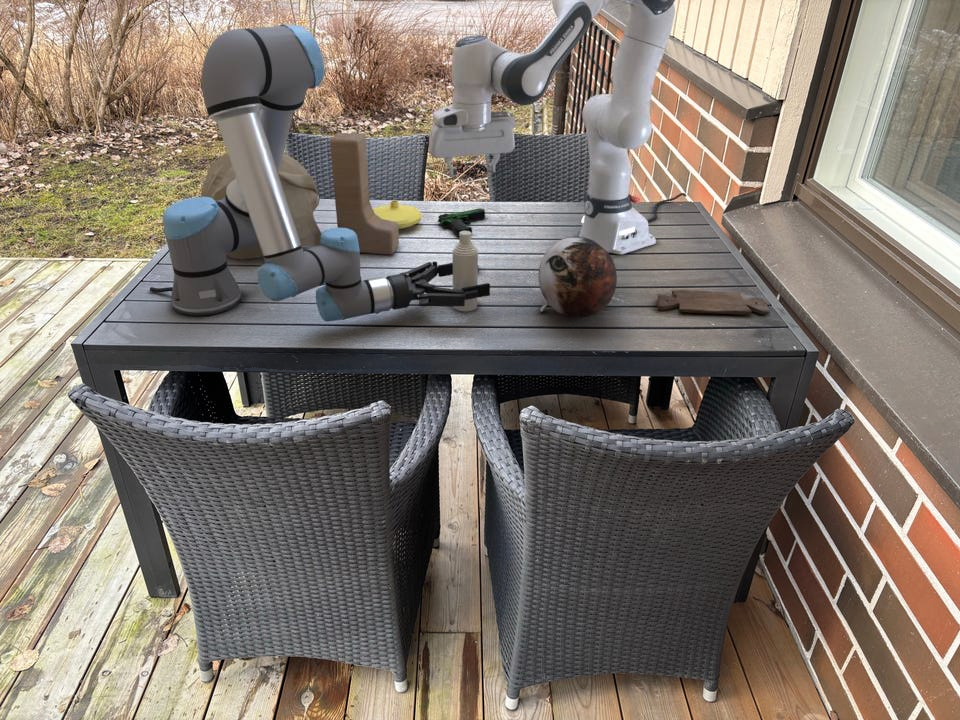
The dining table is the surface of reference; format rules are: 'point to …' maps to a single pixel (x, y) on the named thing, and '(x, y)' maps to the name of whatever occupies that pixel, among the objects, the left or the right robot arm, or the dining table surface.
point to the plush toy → (577, 277)
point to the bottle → (465, 268)
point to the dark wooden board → (711, 302)
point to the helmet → (296, 191)
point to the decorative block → (358, 196)
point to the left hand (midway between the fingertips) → (476, 277)
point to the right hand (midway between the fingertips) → (472, 173)
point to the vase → (399, 214)
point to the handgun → (461, 220)
